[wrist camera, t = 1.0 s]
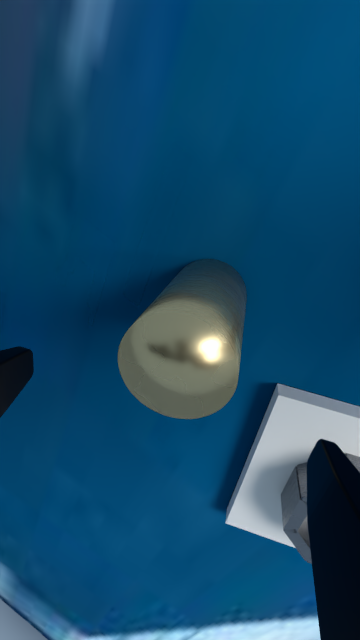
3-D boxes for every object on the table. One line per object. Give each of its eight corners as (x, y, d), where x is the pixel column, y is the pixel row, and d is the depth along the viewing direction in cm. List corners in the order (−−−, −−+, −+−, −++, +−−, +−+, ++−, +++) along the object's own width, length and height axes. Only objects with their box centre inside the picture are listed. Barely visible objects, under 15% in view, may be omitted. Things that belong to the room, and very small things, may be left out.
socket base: (504, 448, 17) (519, 465, 16) (393, 566, 23) (400, 585, 22) (277, 383, 19) (278, 395, 18) (226, 508, 25) (225, 523, 24)
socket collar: (438, 481, 18) (463, 521, 16) (378, 551, 21) (392, 592, 19) (308, 441, 19) (314, 473, 17) (270, 514, 22) (271, 549, 20)
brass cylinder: (256, 269, 17) (254, 332, 10) (235, 337, 19) (221, 433, 12) (179, 250, 17) (123, 297, 10) (166, 319, 19) (113, 399, 12)
